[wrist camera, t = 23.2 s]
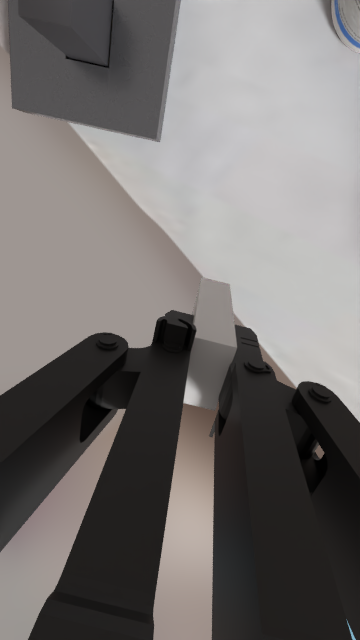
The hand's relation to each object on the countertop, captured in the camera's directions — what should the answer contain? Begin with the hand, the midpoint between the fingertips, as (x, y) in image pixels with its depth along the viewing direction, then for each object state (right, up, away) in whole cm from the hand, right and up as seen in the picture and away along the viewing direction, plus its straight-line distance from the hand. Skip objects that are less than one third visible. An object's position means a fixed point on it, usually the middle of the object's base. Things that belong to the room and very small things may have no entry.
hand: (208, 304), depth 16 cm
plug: (-10, +28, +16) cm, 34 cm away
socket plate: (-10, +29, +16) cm, 34 cm away
